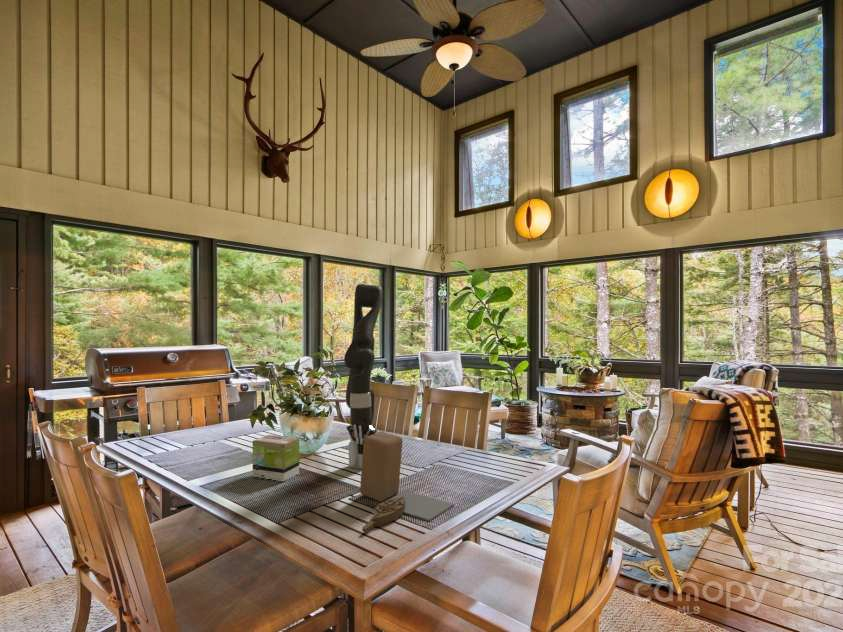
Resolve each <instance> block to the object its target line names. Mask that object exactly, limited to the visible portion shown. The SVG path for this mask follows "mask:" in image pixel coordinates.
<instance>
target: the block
mask: <svg viewBox="0 0 843 632" xmlns="http://www.w3.org/2000/svg"><path fill="white" fill-rule="evenodd" d="M403 441H404V439H403V438H402V437H401V436H398V435H394V434H391V433H388V432H384V431H378V432H376V433H375V434H373V435H370V436H367V437H365V438H364V446H363V459H362V469H361V472H360V473H361V475H360V487H359V493H360V494H361V495H363V496H365V497H367V498H368V497H369V498H370V499H373V500H375V501H378V502H380V503H382V502H384V501H386V500H388V499H390V498H392V497H394V496H396V495H398V493H399V489H400V475H401V464H402V455H403V454H402V452H403Z"/></svg>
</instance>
